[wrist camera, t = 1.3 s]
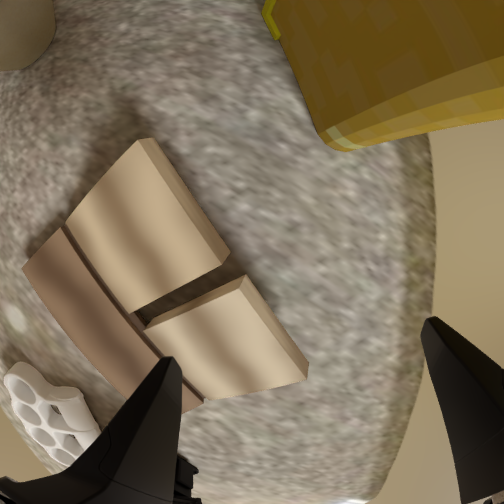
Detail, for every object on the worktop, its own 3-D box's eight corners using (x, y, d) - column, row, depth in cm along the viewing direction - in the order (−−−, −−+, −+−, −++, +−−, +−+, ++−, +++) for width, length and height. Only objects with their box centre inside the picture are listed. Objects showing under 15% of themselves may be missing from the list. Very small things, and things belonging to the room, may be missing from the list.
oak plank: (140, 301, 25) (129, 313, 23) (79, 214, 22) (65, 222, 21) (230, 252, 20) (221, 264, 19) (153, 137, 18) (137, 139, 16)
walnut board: (158, 414, 28) (156, 425, 26) (31, 263, 23) (21, 268, 21) (209, 388, 28) (209, 400, 26) (75, 219, 23) (65, 221, 21)
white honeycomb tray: (123, 459, 30) (48, 447, 28) (74, 363, 26) (-3, 356, 24) (119, 475, 26) (42, 460, 25) (63, 379, 23) (-15, 368, 21)
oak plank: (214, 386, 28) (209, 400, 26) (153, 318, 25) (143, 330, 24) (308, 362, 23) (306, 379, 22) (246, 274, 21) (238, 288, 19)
